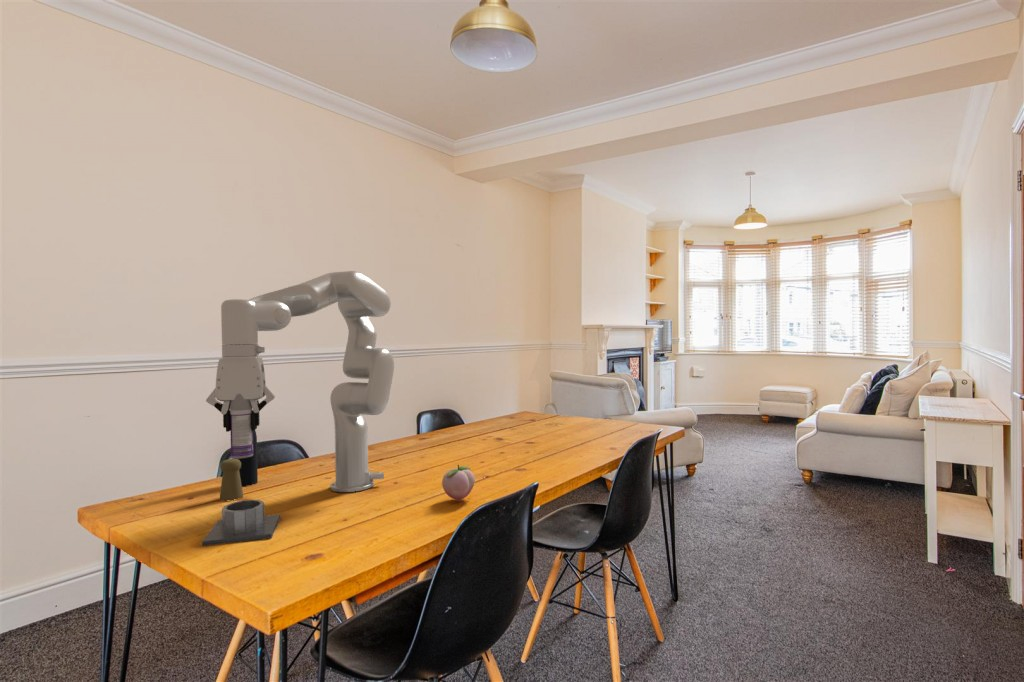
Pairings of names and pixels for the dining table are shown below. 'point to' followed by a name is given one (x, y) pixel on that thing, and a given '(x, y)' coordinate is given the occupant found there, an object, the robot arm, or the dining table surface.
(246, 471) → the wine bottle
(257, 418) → the robot arm
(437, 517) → the dining table surface
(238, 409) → the container
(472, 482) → the decorative fruit
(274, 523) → the duct collar
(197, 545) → the dining table surface
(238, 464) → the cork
